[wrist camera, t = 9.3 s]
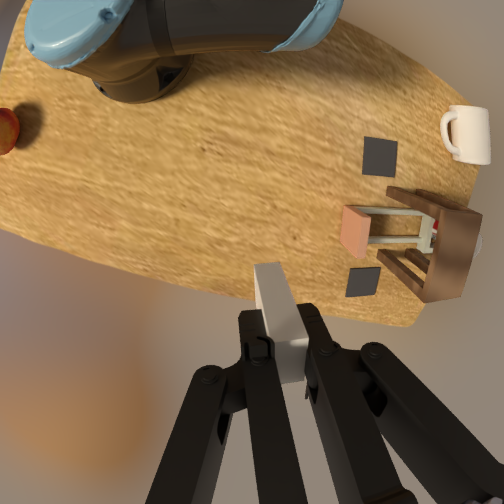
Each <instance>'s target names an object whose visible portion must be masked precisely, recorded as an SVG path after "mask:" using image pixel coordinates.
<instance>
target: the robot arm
mask: <svg viewBox="0 0 504 504" xmlns="http://www.w3.org/2000/svg"><path fill="white" fill-rule="evenodd" d="M343 1H344V0H33V2H32V4H31V6H30V8H29V11H28V14H27V17H26V22H25V29H24V35H25V41H26V45H27V47H28V49H29V51H30V52H31V53H32V55H33V56H35V57H36V58H37V59H39V60H41V61H43V62H45V63H47V64H48V65H49V66H50V67H53V68H57V69H60V68H61V69H65V70H68V71H71V72H74V73H77V74H80V75H83V76H86V77H89V78H91V79H92V81H93V83H94V84H95V86H96V87H97V89H98V90H99V91H100V92H101V93H102V94H104V95H105V96H106V97H108V98H110V99H112V100H115V101H119V102H122V103H128V104H139V103H145V102H149V101H152V100H155V99H157V98H159V97H161V96H163V95H165V94H166V93H168V92H169V91H171V90H172V89H173V88H174V87H175V86H176V85H177V84H178V83H179V82H180V81H181V80H182V79H183V77H184V76H185V75H186V73H187V71H188V69H189V67H190V65H191V62H192V59H193V54H196V53H207V52H222V51H260V52H263V53H271V52H276V51H303V50H306V49H310V48H312V47H314V46H316V45H317V44H319V43H320V42H321V41H322V40H323V39H324V38H325V37H326V36H327V35H328V33H329V32H330V30H331V29H332V27H333V26H334V24H335V22H336V20H337V18H338V16H339V13H340V11H341V8H342V5H343ZM254 278H255V297H256V307H257V310H245V311H241V313H240V315H239V317H238V322H239V333H240V342H241V358H240V360H239V361H238V362H237V363H236V364H234V365H232V366H230V367H228V368H225V369H222V368H221V367H219V366H215V365H206V366H203V367H201V368H199V369H198V370H196V372H195V373H194V375H193V378H192V380H191V383H190V385H189V388H188V391H187V393H186V396H185V398H184V401H183V404H182V406H181V409H180V411H179V414H178V417H177V419H176V422H175V425H174V427H173V430H172V433H171V435H170V438H169V440H168V443H167V446H166V449H165V451H164V454H163V456H162V459H161V462H160V465H159V467H158V470H157V473H156V475H155V478H154V481H153V483H152V486H151V489H150V491H149V494H148V497H147V499H146V502H145V504H211V502H212V498H213V494H214V490H215V486H216V482H217V478H218V474H219V470H220V466H221V462H222V458H223V454H224V450H225V446H226V442H227V437H228V433H229V429H230V425H231V420H232V416H233V413H235V412H238V411H240V410H243V409H245V408H247V409H248V418H249V426H250V435H251V443H252V451H253V459H254V467H255V475H256V483H257V490H258V497H259V504H308V502H307V497H306V493H305V488H304V484H303V479H302V475H301V471H300V467H299V462H298V457H297V453H296V449H295V444H294V440H293V435H292V432H291V427H290V422H289V418H288V413H287V409H286V405H285V400H284V396H283V391H282V387H281V384H284V383H291V382H298V381H304V377H305V376H306V379H307V386H306V394H305V399H308V396H309V399H310V403H311V406H312V410H313V413H314V416H315V420H316V423H317V427H318V430H319V434H320V437H321V441H322V444H323V448H324V451H325V455H326V458H327V462H328V465H329V469H330V473H331V476H332V480H333V483H334V487H335V490H336V494H337V498H338V501H339V504H418V502H417V499H416V497H415V495H414V494H413V493H412V492H411V491H409V490H407V489H405V488H404V487H403V486H402V484H401V482H400V480H399V477H398V474H397V472H396V469H395V467H394V465H393V462H392V460H391V457H390V455H389V452H388V450H387V448H386V445H385V443H384V440H383V438H382V436H381V434H382V435H383V436H384V438H385V439H386V440H387V441H388V443H389V444H390V445H391V446H392V448H393V449H394V450H395V452H396V453H397V454H398V455H399V457H400V458H401V459H402V460H403V462H404V463H405V464H406V465H407V467H408V468H409V469H410V470H411V472H412V473H413V474H414V475H415V477H416V478H417V479H418V481H419V482H420V483H421V484H422V486H423V487H424V488H425V489H426V490H427V492H428V493H429V494H430V495H431V497H432V498H433V499H434V500H435V502H436V503H437V504H504V465H503V464H501V463H499V462H498V461H497V460H496V459H495V458H494V457H493V456H492V455H491V454H490V452H489V451H487V449H486V448H485V447H484V446H483V445H482V444H481V443H480V442H479V441H478V440H477V439H476V437H475V436H474V435H473V434H472V433H471V432H470V431H469V430H468V429H467V428H466V427H465V426H464V425H463V424H462V423H461V422H460V421H459V420H458V419H457V417H456V416H455V415H454V414H452V412H451V411H450V410H449V409H448V408H447V407H446V406H445V405H444V404H443V403H442V402H441V401H440V400H439V399H438V398H437V397H436V396H435V395H434V394H433V393H432V392H431V391H430V390H429V389H428V388H427V387H426V386H425V385H424V384H423V383H422V382H421V381H420V380H419V379H418V378H417V377H416V376H415V375H414V374H413V373H412V372H411V371H410V370H409V369H408V368H407V367H406V366H405V365H404V364H403V363H402V362H401V361H400V360H399V359H398V358H397V357H396V356H395V355H394V354H393V353H392V352H391V351H390V350H389V349H388V348H387V347H386V346H384V345H383V344H381V343H378V342H370V343H366V344H365V345H363V346H362V348H361V350H349V349H344V348H341V346H340V345H339V344H338V343H336V342H335V341H333V340H332V338H331V336H330V334H329V332H328V329H327V327H326V326H325V323H324V321H323V319H322V317H321V315H320V312H319V310H318V308H317V307H315V306H314V305H313V304H312V303H304V304H296V303H295V300H294V298H293V295H292V293H291V290H290V287H289V285H288V282H287V280H286V277H285V275H284V272H283V270H282V267H281V265H280V262H274V263H263V264H254Z"/></svg>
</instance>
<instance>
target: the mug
mask: <svg viewBox="0 0 504 504" xmlns="http://www.w3.org/2000/svg"><path fill="white" fill-rule="evenodd" d="M449 121H450V122H451V135H452V144H451V143H450V141H449V138H448V132H447V125H448V122H449ZM440 131H441V136H442V140H443V143H444V145H445V147H446V148H447V150H448V151H449V152H450V153H452V156H453V159H454V160H456V161H459V162H464V163H470V164H478V165H489V164H491V141H490V124H489V113H488V109H486V108H481V107H474V106H464V105H450V106H449V111H448V112H446V113H445V114H444V115H443V116H442V118H441V123H440Z"/></svg>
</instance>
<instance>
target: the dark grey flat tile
mask: <svg viewBox="0 0 504 504" xmlns="http://www.w3.org/2000/svg"><path fill="white" fill-rule="evenodd" d="M379 272H380V267H369V268H350V273H349V279H348V284H347V290H346V295H345V297H357V296H367V295H374V294H375V290H376V286H377V281H378V277H379Z"/></svg>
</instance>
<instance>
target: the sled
mask: <svg viewBox="0 0 504 504" xmlns="http://www.w3.org/2000/svg"><path fill="white" fill-rule="evenodd" d="M365 213H368V214H397V215H419V216H422V222H421V228H420V233H419V236H369V230H370V223H371V217H369V216H368V215H366V214H365ZM434 222H435V219H434V218H432V217H430V216H428V215H426V214H424V213H422V212H420V211H418V210H416V209H405V208H386V207H362V206H351V205H344V209H343V218H342V227H341V236H340V242H341V243H342V244H343V245H344V246H345V247H346V248H347V249H348V250H349V251H350V252H351V253H352V254H353V256H354V257H355V258H356V259H358V258H365V255H366V249H367V243H417V249H418V250H420V251H421V252H422V253H432V252H433V248H434V243H431V238H432V228H433V224H434Z"/></svg>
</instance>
